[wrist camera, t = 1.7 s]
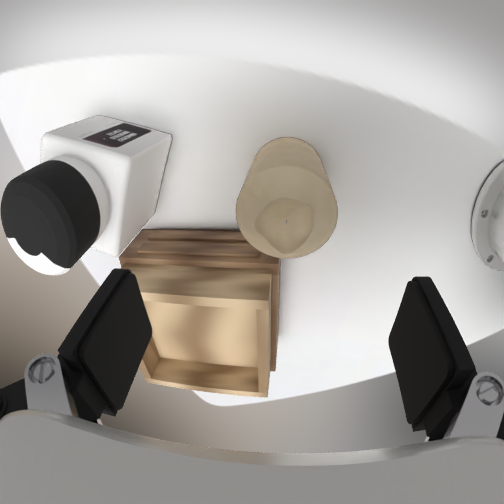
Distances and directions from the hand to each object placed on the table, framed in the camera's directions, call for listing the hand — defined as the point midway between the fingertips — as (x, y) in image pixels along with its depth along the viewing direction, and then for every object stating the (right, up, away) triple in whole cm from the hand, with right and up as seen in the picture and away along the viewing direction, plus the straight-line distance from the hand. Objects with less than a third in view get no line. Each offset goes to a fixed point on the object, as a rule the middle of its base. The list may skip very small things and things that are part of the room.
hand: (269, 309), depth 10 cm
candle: (+2, +8, +14) cm, 16 cm away
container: (-12, +10, +15) cm, 21 cm away
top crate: (-5, -4, +16) cm, 18 cm away
